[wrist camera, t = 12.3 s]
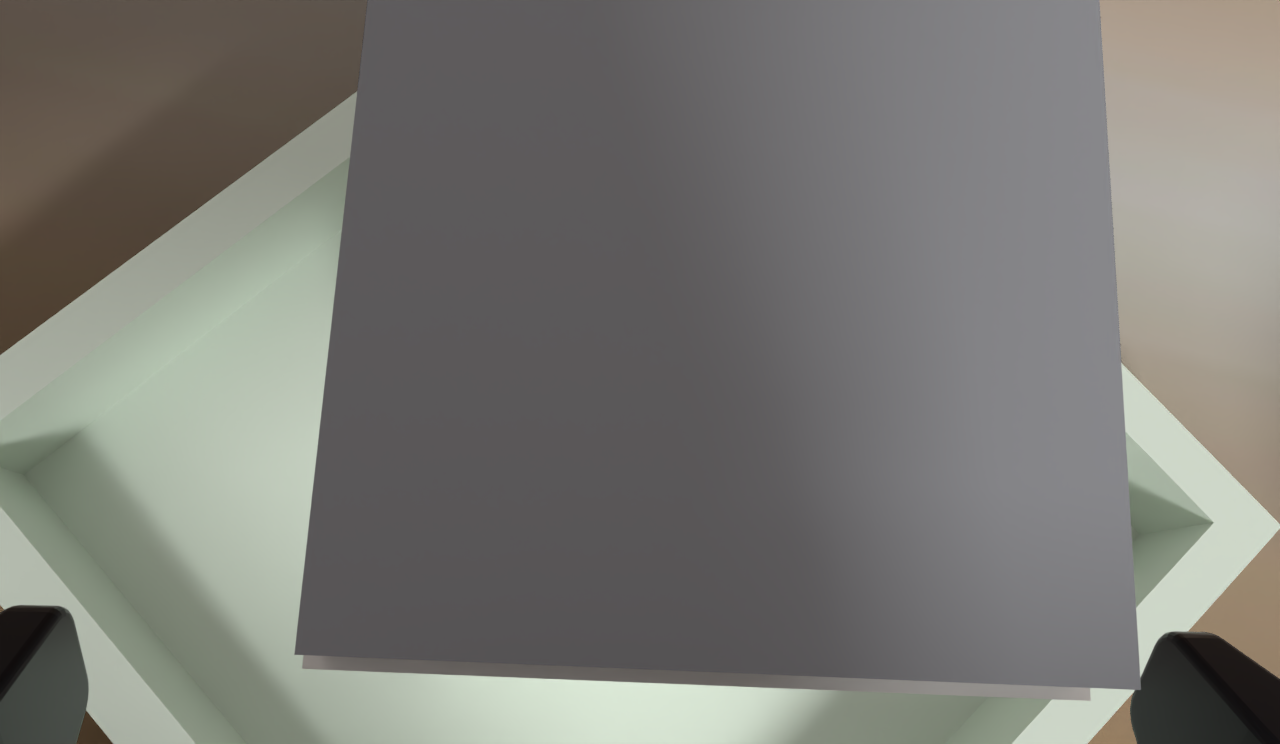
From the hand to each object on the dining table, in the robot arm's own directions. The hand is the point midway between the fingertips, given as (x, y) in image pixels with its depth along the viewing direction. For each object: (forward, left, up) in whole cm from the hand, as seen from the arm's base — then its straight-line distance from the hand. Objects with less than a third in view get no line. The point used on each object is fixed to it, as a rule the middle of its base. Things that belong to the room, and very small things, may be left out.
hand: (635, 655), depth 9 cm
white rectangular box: (+2, +1, -9) cm, 10 cm away
